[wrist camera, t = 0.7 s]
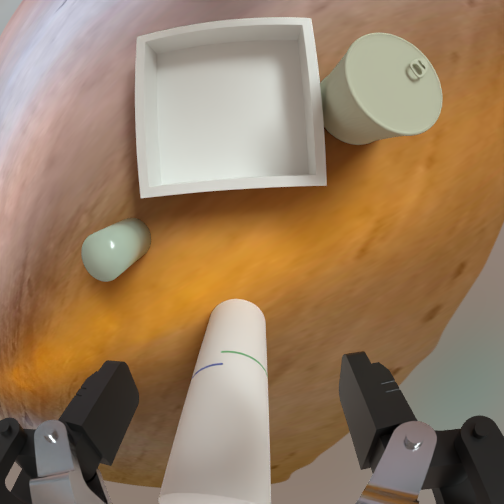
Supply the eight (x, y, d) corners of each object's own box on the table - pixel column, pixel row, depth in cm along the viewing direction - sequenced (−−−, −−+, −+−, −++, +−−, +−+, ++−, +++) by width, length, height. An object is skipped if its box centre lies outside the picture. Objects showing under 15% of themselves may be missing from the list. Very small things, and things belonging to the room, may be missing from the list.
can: (402, 117, 28) (462, 102, 16) (351, 160, 30) (400, 159, 18) (353, 58, 26) (395, 15, 14) (297, 98, 28) (320, 60, 16)
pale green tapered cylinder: (112, 219, 32) (77, 234, 24) (148, 215, 32) (117, 230, 24) (119, 258, 33) (87, 281, 26) (153, 256, 33) (127, 281, 26)
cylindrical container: (200, 308, 35) (135, 489, 11) (254, 291, 34) (247, 490, 10) (222, 351, 37) (191, 525, 13) (272, 338, 36) (284, 522, 12)
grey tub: (152, 52, 26) (136, 36, 21) (304, 37, 25) (311, 18, 21) (157, 193, 31) (140, 198, 26) (316, 182, 30) (326, 185, 26)
